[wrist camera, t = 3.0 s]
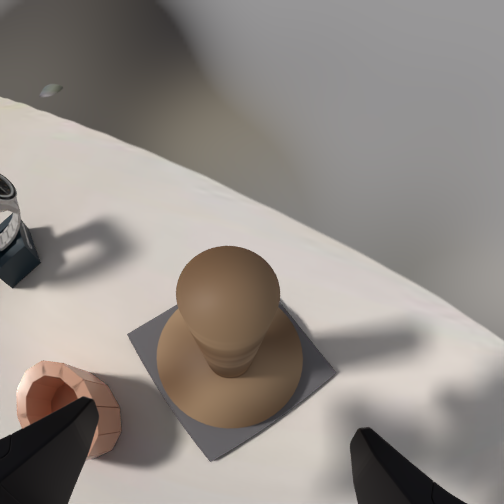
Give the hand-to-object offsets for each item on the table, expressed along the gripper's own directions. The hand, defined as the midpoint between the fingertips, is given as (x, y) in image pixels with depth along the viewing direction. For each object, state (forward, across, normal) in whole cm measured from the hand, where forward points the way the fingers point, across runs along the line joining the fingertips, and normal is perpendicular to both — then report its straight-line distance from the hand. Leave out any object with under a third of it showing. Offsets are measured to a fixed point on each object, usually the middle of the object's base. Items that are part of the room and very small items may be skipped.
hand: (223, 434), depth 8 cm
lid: (+10, 0, +4) cm, 11 cm away
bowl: (+6, +11, +9) cm, 16 cm away
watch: (+15, +23, +1) cm, 27 cm away
